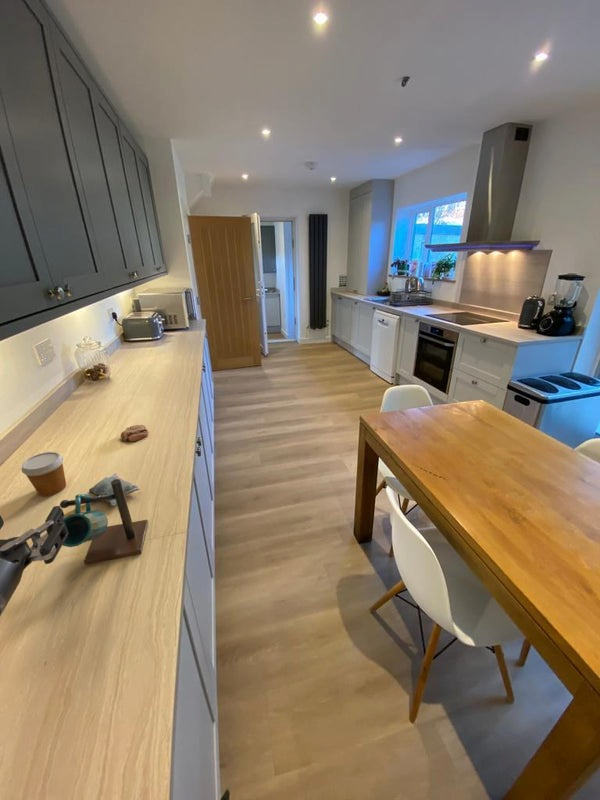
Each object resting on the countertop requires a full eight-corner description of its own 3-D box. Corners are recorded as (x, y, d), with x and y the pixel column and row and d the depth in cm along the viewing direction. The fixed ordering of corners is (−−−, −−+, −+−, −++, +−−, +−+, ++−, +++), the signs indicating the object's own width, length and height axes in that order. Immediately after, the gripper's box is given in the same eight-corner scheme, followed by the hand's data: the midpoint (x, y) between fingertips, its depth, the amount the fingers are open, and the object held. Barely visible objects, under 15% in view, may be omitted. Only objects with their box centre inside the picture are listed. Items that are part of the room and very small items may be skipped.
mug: (108, 536, 78) (91, 543, 68) (77, 541, 76) (55, 550, 67) (107, 491, 80) (90, 492, 71) (77, 495, 79) (56, 497, 69)
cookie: (149, 427, 133) (147, 420, 132) (148, 439, 124) (147, 432, 123) (122, 431, 130) (120, 425, 128) (119, 444, 121) (118, 437, 119)
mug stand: (148, 522, 86) (134, 466, 78) (141, 553, 77) (125, 493, 69) (84, 534, 82) (63, 476, 75) (69, 567, 73) (44, 506, 66)
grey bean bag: (118, 480, 102) (114, 467, 99) (141, 493, 96) (138, 480, 94) (89, 496, 95) (85, 483, 93) (113, 512, 89) (108, 498, 87)
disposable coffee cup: (79, 491, 97) (67, 457, 92) (42, 509, 90) (27, 474, 85) (65, 479, 102) (53, 447, 97) (29, 496, 95) (14, 462, 90)
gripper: (23, 574, 40) (71, 489, 54) (-123, 602, 37) (-31, 504, 51) (42, 612, 43) (83, 522, 57) (-90, 641, 40) (-13, 538, 54)
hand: (29, 514), depth 54 cm, fingers open, 8 cm apart
